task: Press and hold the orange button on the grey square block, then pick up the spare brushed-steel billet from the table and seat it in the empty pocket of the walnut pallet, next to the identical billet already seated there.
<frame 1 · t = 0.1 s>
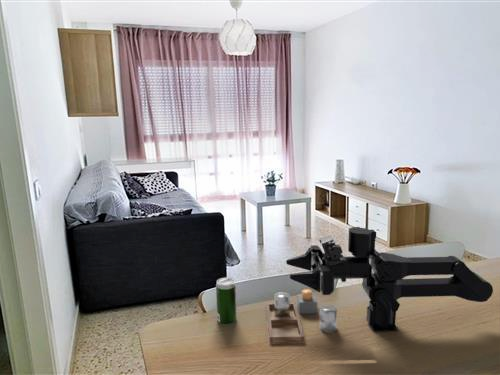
hand: (288, 268, 101), 17 cm above the table, tool horizontal, fingers open, 9 cm apart
seated billet: (282, 315, 109), point 1 cm above the table, touching pallet
grey square block: (306, 310, 112), on the table
pallet: (283, 325, 105), on the table
button: (307, 294, 111), point 5 cm above the table, slide at 0.0 cm
green soda can: (227, 322, 107), on the table
billet: (327, 329, 102), on the table
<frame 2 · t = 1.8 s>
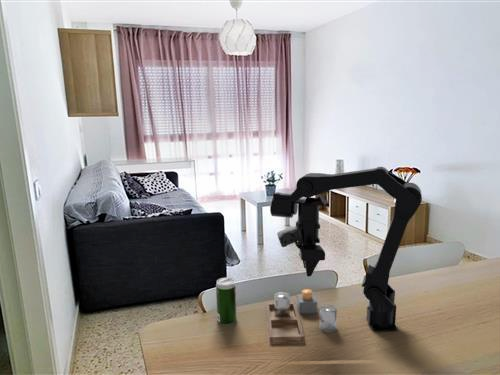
hand: (307, 272, 110), 12 cm above the table, tool pointing down, fingers open, 5 cm apart
nothing on the table moved.
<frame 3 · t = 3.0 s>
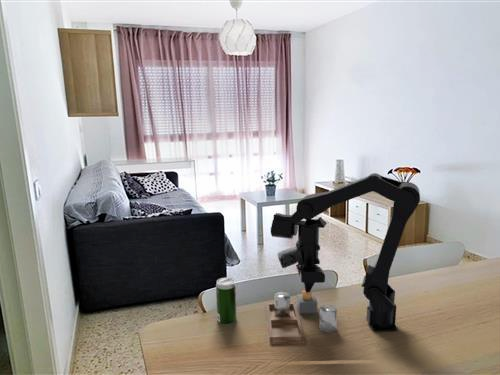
hand: (307, 292, 111), 6 cm above the table, tool pointing down, fingers closed, pressing on button
button: (307, 294, 111), point 5 cm above the table, slide at 0.0 cm, touching grey square block, gripper
everything else where it was.
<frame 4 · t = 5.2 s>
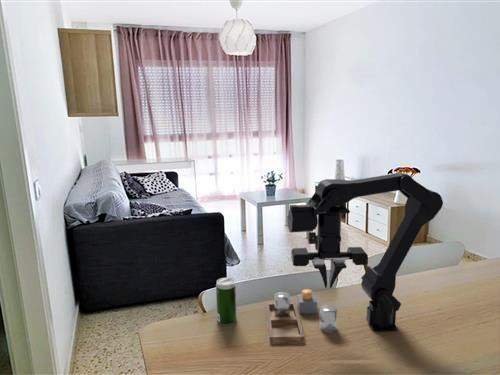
hand: (327, 287, 100), 12 cm above the table, tool pointing down, fingers closed
button: (307, 294, 111), point 5 cm above the table, slide at 0.0 cm, touching grey square block
everything else where it was.
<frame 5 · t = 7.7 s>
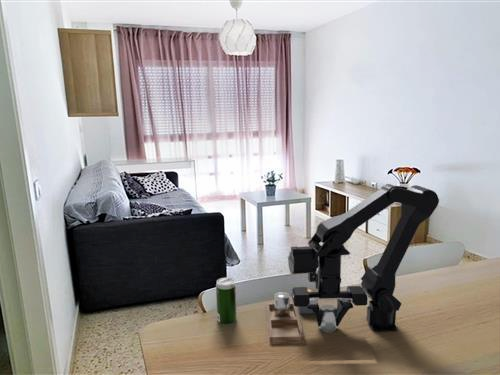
hand: (327, 325, 102), 1 cm above the table, tool pointing down, fingers closed on billet, 4 cm apart
billet: (327, 329, 102), on the table, touching gripper
everything else where it was.
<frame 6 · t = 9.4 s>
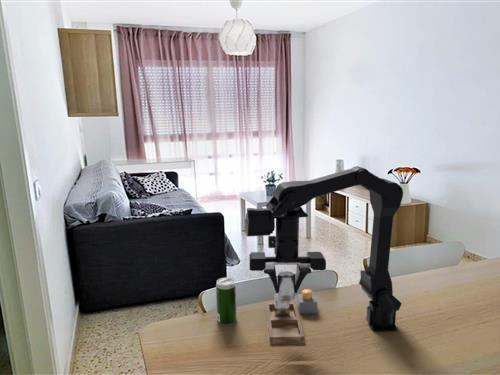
hand: (286, 292, 98), 12 cm above the table, tool pointing down, fingers closed on billet, 4 cm apart
billet: (286, 296, 98), point 11 cm above the table, touching gripper
everything else where it was.
when the fingers open (3 cm above the table, at t = 11.4 s): billet drops 1 cm, resting on pallet.
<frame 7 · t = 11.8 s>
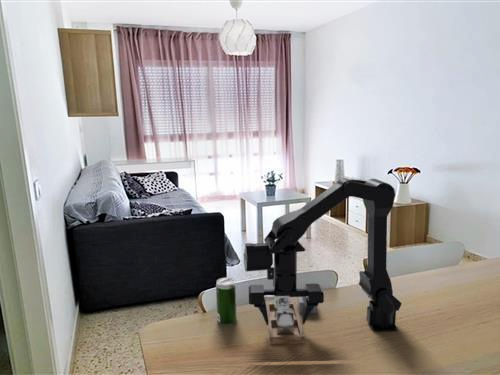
hand: (285, 324, 100), 3 cm above the table, tool pointing down, fingers open, 9 cm apart
billet: (285, 332, 100), point 1 cm above the table, touching pallet
everything else where it was.
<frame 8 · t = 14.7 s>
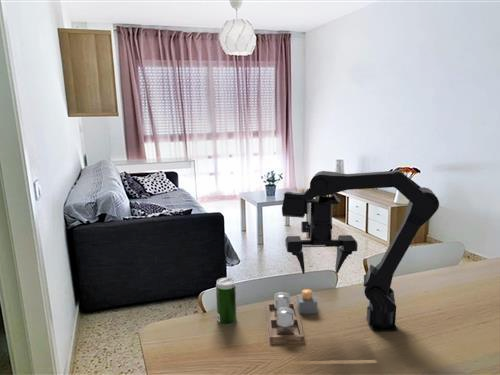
hand: (319, 273, 107), 13 cm above the table, tool pointing down, fingers open, 9 cm apart
nothing on the table moved.
at the end: billet 0.0 cm from the target spot on the pallet, point 0.6 cm above the pallet's base; billet tilted 0°; the gripper is holding nothing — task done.
